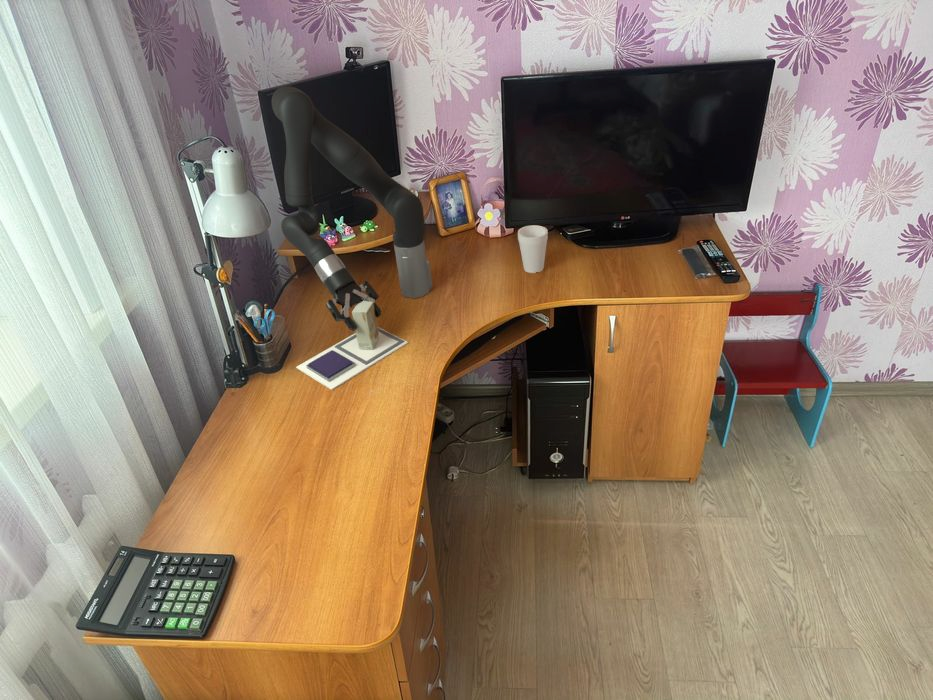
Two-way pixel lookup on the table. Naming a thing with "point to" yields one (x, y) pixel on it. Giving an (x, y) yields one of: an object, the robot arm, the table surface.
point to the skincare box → (365, 325)
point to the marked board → (356, 356)
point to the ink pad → (330, 365)
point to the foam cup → (533, 247)
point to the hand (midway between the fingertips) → (367, 322)
